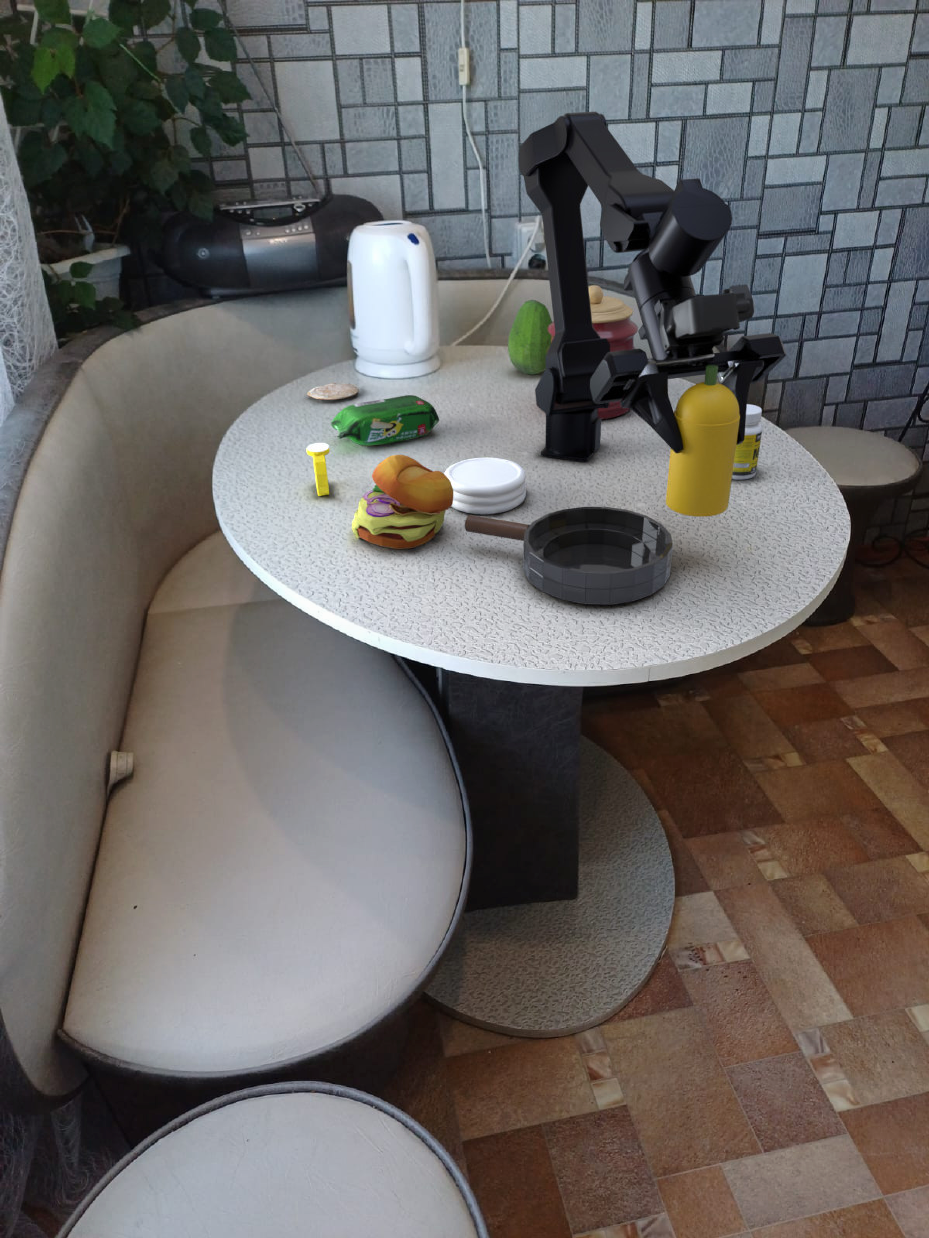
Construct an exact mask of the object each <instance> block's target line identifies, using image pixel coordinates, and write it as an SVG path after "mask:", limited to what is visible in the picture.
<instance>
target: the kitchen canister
mask: <svg viewBox="0 0 929 1238" xmlns="http://www.w3.org/2000/svg"><path fill="white" fill-rule="evenodd" d="M588 286H589V296H590V305H591V315H592V324H593V328H594V329H595V331H596V332H597V333H598V335H599V336H600V337H601V338H606V339H607V340H608V342H609V344H610V352H614V351H622V350H631V349H637V348H636V347H635V345H634V341H635V340H634V339H635V338H634V336H635V335H636V334H637V333H638V331H639V327H638V324H636V322H634V321H633V320H631V317H632V316H633V314H634V310H633V308H632V307H630V306H629V305H627V304H626V303H625V302H624V301H623V300H622V299H620V298H617V297H612V296H607V295H604V292H603V289H602V288H601V286H599V285H595V284H594V285H588ZM548 332H549V334H550V335H551V343H552V340H553V338H554V336H555V327H554V320H552V323H551V324H550V325H549V326H548ZM548 349H549V348H548ZM547 352H548V350H547ZM623 398H624V397H623ZM620 402H621V401H617V402H610V403H609V407H608V408H599V409H598V417H600V418H601V420H607V419H612V418H616V417H620V416H622V415H624V414H626V413H628V412H629V411H630V410H631V409H630V408H622V407H621V405H620Z"/></svg>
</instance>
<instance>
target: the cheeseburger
mask: <svg viewBox="0 0 929 1238" xmlns="http://www.w3.org/2000/svg"><path fill="white" fill-rule="evenodd" d="M444 473H445V472H442V471H441V470H432V469H429V468H428V467H426V466H424V465H423V464H422V463H420V462H419V461H417V460H416V459H415V458H412V457H410V456H408V455H404V454H393V455H389V456H388V457H386V458H384V459H383V460H382V461H381V462H379V463H378V464H377V466H376V467H375V468H374V469H373V471H372V474H371V478H372V481H373V482H374V484H375V485H374V487H373V489H371V490H368V491H367V492H365V493H364V495H362V497H361V499H360V500H359V502H358V508H357V509H356V511H355V513H354V514H353V515H354V518H353V519H352V522H351V531H352V533H353V534H354V536H355V537H356V539H358V540H359V539H362V540H364V541H366V542H367V543H369V544H373V545H377V546H380V547H385V548H390V549H395V550H401V549H414V548H416V547H418V546H421V545H424V544H426V543H428V542H429V541H431V540H432V539H433V538H435V536H436V534H437V533H439V531H440V530H441V529H442V526H443V524H444V522H445V514H446V511H447V510H449V509H450V508H452V507H451V506H452V504H453V488H452V485H451V481H450V480H449V479H448V477H447V476H446V475H445V474H444Z"/></svg>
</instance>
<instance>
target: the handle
mask: <svg viewBox="0 0 929 1238" xmlns="http://www.w3.org/2000/svg"><path fill="white" fill-rule="evenodd" d="M529 526H530V524H529V523H521V522H517V521H509V520H503V519H497V518H492V517H485V516H480V515H479V516H478V515H474V514H473V515H472V514H469V515H467V516H466V518H465V520H464V530H465V531H466V532H467V533H473V534H480V535H485V536H492V537H498V538H502V539H510V540H516V541H520V542H521V541H522V542H524V532H525V530H526V529H527V528H528V527H529Z"/></svg>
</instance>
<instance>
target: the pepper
mask: <svg viewBox="0 0 929 1238" xmlns="http://www.w3.org/2000/svg"><path fill="white" fill-rule="evenodd" d="M717 373H718V366H716V365H707V366H706V372H705V375H704V381H702V382H699V383H695V384H693V385H692V386H690V387H689V388H687V389H686V390H685V391H683V393H682V394H681V396H680V397H679V399H678V400H677V403H676V406H675V409H674V410H673V411H674V415H675V418H676V421H677V424H678V427H679V430H680V433H681V438H682V443H683V450H682V451H681V452H680V453H675V452H674V451H673V450H672V449H671V448H670V452H669V462H668V472H667V483H666V484H667V485H666V495H665V505H666V506H667V507H668V508H669V509H670V510H671V511H673V512H675V513H677V514H680V515H683V516H688V517H696V518H697V517H699V518H704V517H705V518H706V517H707V518H708V517H714V516H718V515H720V514H723V513H724V512H726V511H727V510H728V507H729V503H730V495H731V488H732V480H733V479H732V473H733V466H734V458H735V451H736V443H737V436H738V428H739V421H740V414H739V405H738V402H737V399H736V397H735V395H734V394H733V393H732V391H731V390H730V389H728V388H727V387H726V386H724V385H722V384H720V383H719V382H717V381H718V377H717Z"/></svg>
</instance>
